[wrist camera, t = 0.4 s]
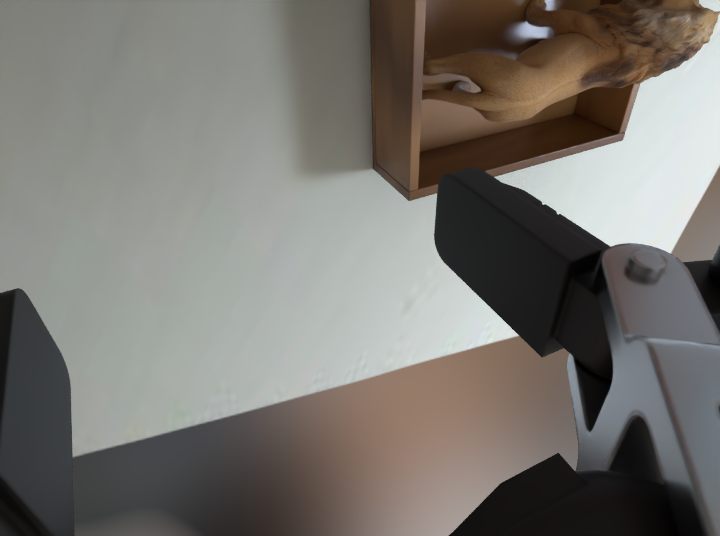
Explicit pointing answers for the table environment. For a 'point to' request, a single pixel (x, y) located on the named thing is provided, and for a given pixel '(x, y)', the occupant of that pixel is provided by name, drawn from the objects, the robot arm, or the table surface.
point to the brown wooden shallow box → (461, 123)
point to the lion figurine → (577, 56)
